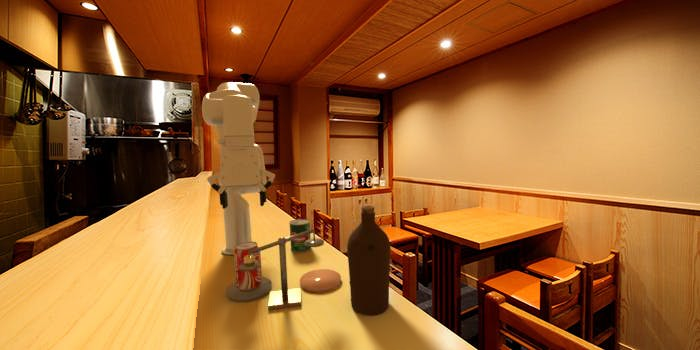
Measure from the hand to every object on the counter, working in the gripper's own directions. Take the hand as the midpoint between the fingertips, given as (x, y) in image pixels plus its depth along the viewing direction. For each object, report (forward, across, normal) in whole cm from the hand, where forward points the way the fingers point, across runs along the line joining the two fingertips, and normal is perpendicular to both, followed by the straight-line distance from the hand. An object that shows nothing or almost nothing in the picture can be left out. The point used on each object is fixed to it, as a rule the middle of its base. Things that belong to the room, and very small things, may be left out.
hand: (244, 206), depth 77 cm
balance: (+24, +10, -8) cm, 27 cm away
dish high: (+24, +20, 0) cm, 31 cm away
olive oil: (+24, +31, -15) cm, 42 cm away
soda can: (+23, 0, 0) cm, 23 cm away
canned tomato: (+24, +15, +29) cm, 41 cm away
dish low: (+24, 0, 0) cm, 24 cm away
